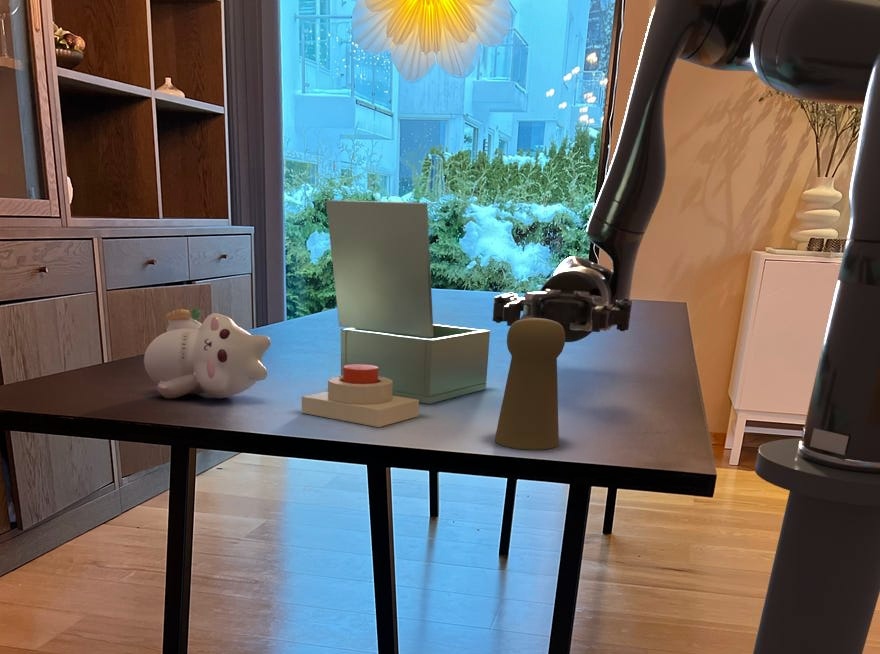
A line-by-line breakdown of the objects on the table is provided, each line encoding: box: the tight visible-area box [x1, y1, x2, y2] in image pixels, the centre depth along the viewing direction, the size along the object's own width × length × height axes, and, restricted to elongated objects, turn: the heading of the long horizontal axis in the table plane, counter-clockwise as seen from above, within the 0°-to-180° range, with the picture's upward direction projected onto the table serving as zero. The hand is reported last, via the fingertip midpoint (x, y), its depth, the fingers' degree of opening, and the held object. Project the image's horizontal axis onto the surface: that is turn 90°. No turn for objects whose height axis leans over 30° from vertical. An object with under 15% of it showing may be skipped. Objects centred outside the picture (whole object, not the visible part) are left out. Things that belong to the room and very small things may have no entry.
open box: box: [340, 323, 491, 405], centre depth 106 cm, size 13×13×7 cm
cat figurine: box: [143, 307, 272, 399], centre depth 98 cm, size 10×8×15 cm
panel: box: [301, 375, 420, 428], centre depth 93 cm, size 10×7×4 cm
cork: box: [494, 318, 566, 451], centre depth 82 cm, size 6×6×11 cm
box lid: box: [325, 199, 434, 337], centre depth 96 cm, size 13×13×1 cm
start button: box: [343, 364, 378, 384], centre depth 92 cm, size 4×4×2 cm
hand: (553, 317), depth 89 cm, fingers open, 8 cm apart
